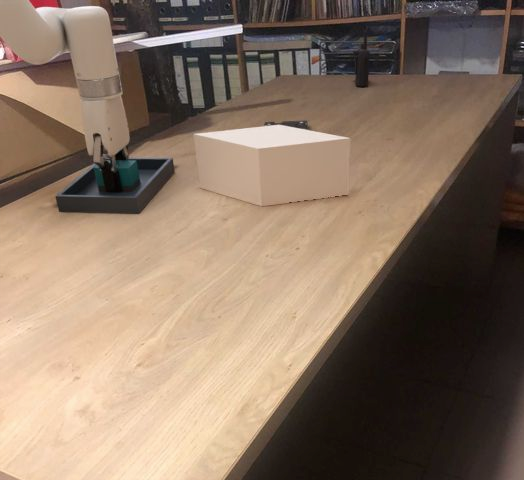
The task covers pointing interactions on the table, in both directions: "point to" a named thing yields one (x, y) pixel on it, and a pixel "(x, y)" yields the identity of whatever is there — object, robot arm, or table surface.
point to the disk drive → (290, 124)
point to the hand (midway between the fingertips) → (119, 185)
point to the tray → (92, 200)
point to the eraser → (121, 175)
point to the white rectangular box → (273, 164)
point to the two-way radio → (362, 63)
